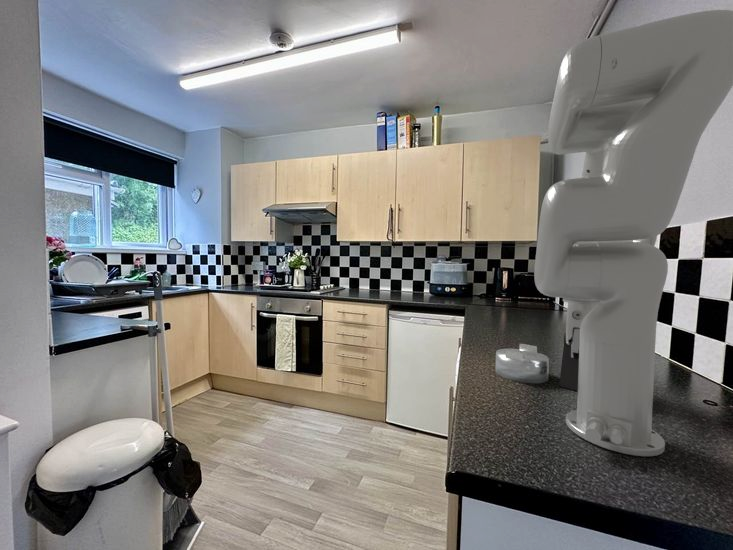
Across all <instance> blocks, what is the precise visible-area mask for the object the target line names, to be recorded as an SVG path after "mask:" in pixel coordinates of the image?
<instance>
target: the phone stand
mask: <svg viewBox="0 0 733 550" xmlns="http://www.w3.org/2000/svg"><path fill="white" fill-rule="evenodd" d="M569 341H571V339H570V340H569ZM561 359H562V360H561V366H560V374H559V384H558V387H560V388H563V389H567V390H571V391H573V392H574V391H575V392H578V371H579V359H575V358H571V345H570V346H569V345H568V344H567V343H566V332H564V334H563V349H562V357H561Z"/></svg>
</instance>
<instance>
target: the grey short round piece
mask: <svg viewBox="0 0 733 550" xmlns="http://www.w3.org/2000/svg"><path fill="white" fill-rule="evenodd" d="M518 347H519V348H500V349H497V350H496V351H495V373H496V374H497V375H498V376H500V377H502V378H504V379H507V380H510V381H512V382H518V383H523V384H543V383H546V382H548V381H549V369H550V368H549V365H550V357H548V356H547V355H546V354H543V353H541V352H540V353H539V352H538V347H537V345H530V344H525V343H519V345H518Z"/></svg>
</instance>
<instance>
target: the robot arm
mask: <svg viewBox="0 0 733 550" xmlns="http://www.w3.org/2000/svg"><path fill="white" fill-rule="evenodd" d="M732 88H733V10H731V9H711V10H704V11H703V10H702V11H698V12H697V11H696V12H692V13H691V12H690V13H686V14H682V15H681V14H680V15H677V16H672V17H667V18H663V19H659V20H656V21H655V20H654V21H651V22H647V23H644V24H639V25H637V26H631V27H628V28H623V29H620V30H615V31H611V32H607V33H602V34H598V35H595V36H590V37H589V38H588V37H587V38H585V39H581V40H580V41H578V42H576V43H575V44H573V45H572V46H571V47H570V48H569V49H568V50H567V52H565V55H564V57H563V58H562V61H561V64H560V67H559V70H558V75H557V81H556V84H555V90H554V95H553V100H552V105H551V109H550V115H549V122H548V127H547V128H548V129H547V130H548V131H547V132H548V133H547V140H548V147H549V150H550V151H551V153H553V154H555V155H568V154H570V155H571V154H576V153H578V154H579V153H585V156H584V163H583V167H582V168H583V169H582V174H581V177H578V178H577V177H576V178H568V179H565V180H560V181H558V182H555V183H554V184H552V185H551V186H550V187H549V188H548V190H547V191H546V193H545V195H544V198H543V200H542V204H541V207H540V209H541V210H540V215H539V225H538V231H537V232H538V233H537V242H536V251H535V253H536V254H535V259H534V268H533V269H534V271H533V274H534V284H535V287H536V289H537V291H539V293H540V294H543V296H547V297H550V298H562V302H564V303H567V310H566V321H565V333H566V343H567V344H568V345H569V346H570V345H571V358H575V359H579V371H578V391H577V402H576V403H577V404H576V405H577V407H576V409H574V410H571V411H569V412H567V414H565V423H566V426H567V427H568V428H569V429H570V430H571V431H572V432H573V433H574V434H576V435H577V436H578V437H580V438H582V439H583V440H585V441H587V442H589V443H591V444H593V445H595V446H598V447H600V448H603V449H606V450H610V451H613V452H616V453H620V454H624V455H630V456H637V457H655V456H659V455H662V454H663V453H664V452H665V449H666V448H665V447H666V442H665V439H664V438H663V436H661V435H660V434H659V433H658V432H657V431H655V430H654V429H652V427H653V425H652V424H653V423H652V422H653V402H654V385H655V384H654V379H655V378H654V377H655V358H656V356H655V355H656V341H657V340H656V339H657V338H656V337H657V322H658V315H659V313H658V312H659V309H660V303H661V300H662V295H663V292H664V289H665V285H666V282H667V276H668V271H669V263H668V260H667V257H666V255H665V253H664V252H663V251H662V250H661V249H660V248H658V247H656V246H655V245H656V242H657V240H658V239H657V238H658V236H659V235H661V234H663V232H664V231H665V230H667V228H668V227H669V225H670V224H671V221H672V219H673V217H674V214H675V212H676V209H677V207H678V203H679V200H680V198H681V195H682V192H683V189H684V185H685V183H686V180H687V177H688V174H689V171H690V169H691V165H692V163H693V159H694V157H695V156H694V155H695V153H696V151H697V150H696V149H697V147H698V144H699V143H700V140H701V137H702V135H703V133H704V132H705V130H706V128H707V127H708V125H709V123H710V121H711V120H712V118H714V116H715V114H716V112H717V111H718V109H719V108H720V106H721V105H722V103H723V102H724V100H725V99H726V97H727V96H728V94H729V92H730V91H731V90H732ZM570 339H571V341H569V340H570Z"/></svg>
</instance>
